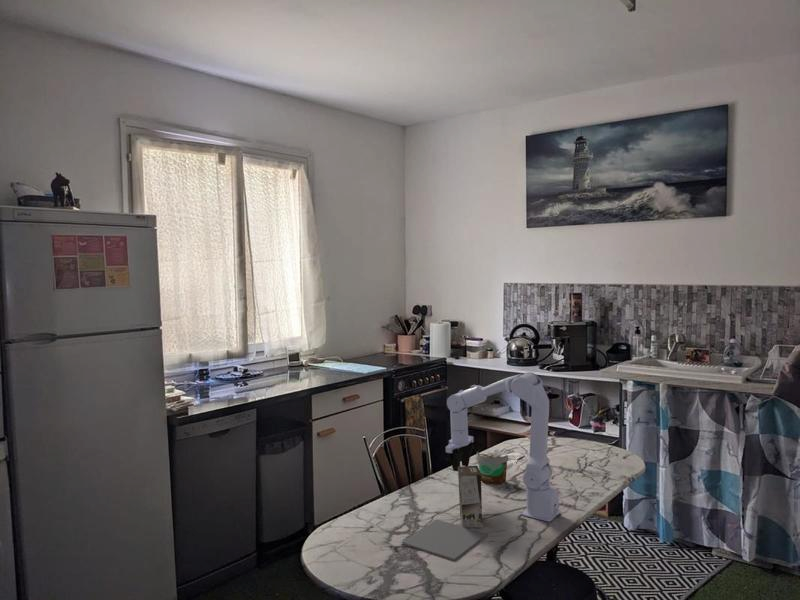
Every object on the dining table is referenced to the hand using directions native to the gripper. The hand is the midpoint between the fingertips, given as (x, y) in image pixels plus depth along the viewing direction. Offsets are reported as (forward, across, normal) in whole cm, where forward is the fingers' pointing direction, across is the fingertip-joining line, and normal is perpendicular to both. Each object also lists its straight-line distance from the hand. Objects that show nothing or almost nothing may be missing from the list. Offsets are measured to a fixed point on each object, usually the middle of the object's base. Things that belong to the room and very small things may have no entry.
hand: (460, 468), depth 200 cm
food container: (+11, -18, +1) cm, 21 cm away
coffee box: (+11, +14, +12) cm, 21 cm away
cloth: (+11, -42, -5) cm, 44 cm away
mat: (+10, +28, +12) cm, 33 cm away
